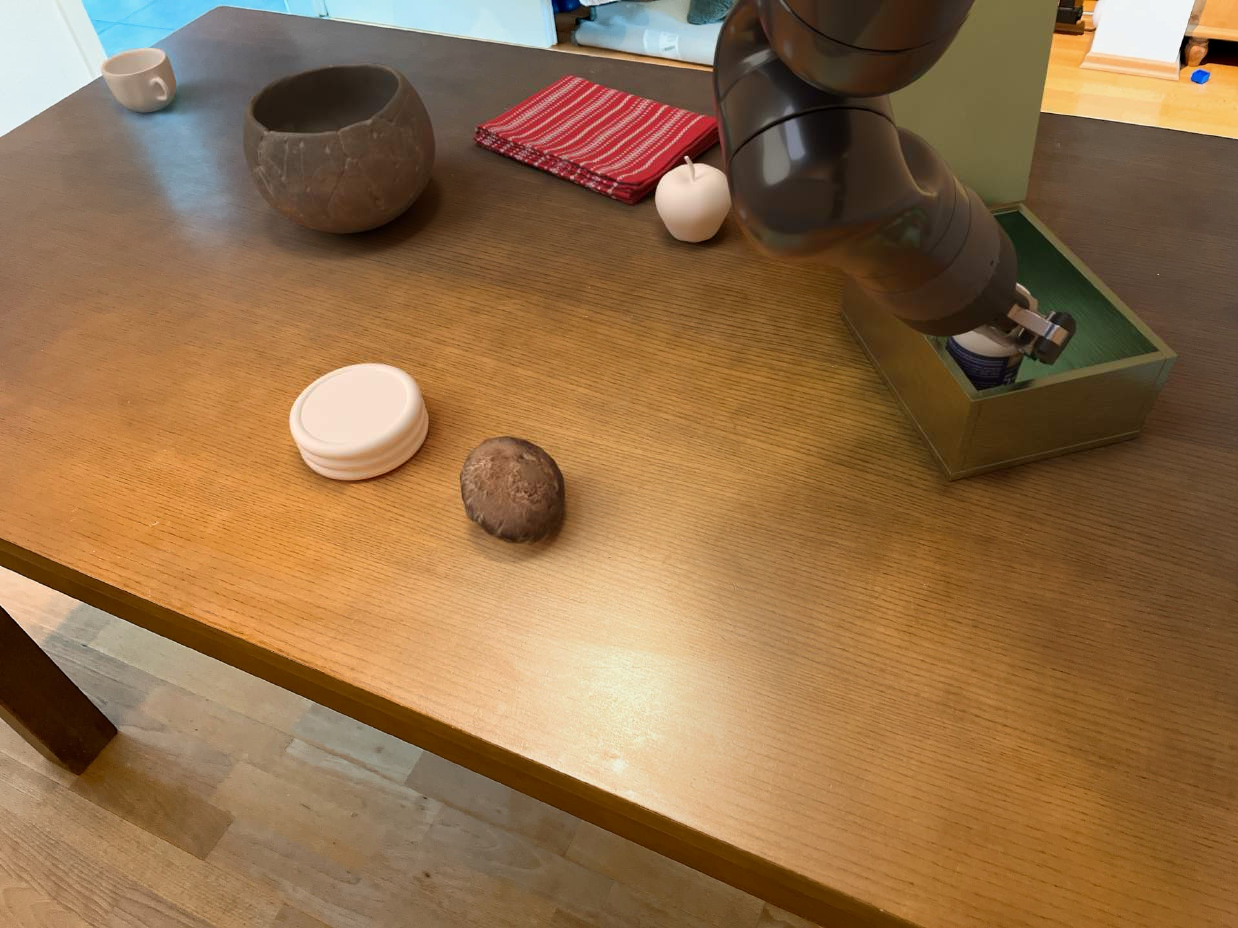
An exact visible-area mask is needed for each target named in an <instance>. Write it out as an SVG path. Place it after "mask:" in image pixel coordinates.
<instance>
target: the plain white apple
mask: <svg viewBox="0 0 1238 928" xmlns="http://www.w3.org/2000/svg"><path fill="white" fill-rule="evenodd" d="M684 158H685V160H686V162H687V164H685V165H681V166H679V167H677V168H675V169H673V170H672V171H670V172H668V173H667V174H665V175H664V176H663V177H662V179H661V180H660V182H659V184H658V185H657V186H656V190H655V197H654V201H655V207H656V211H657V213H658V215H659V217H660V218H661V221H662V222H663V223H664V225H665V227H666V228H667V230H668V232H669V233H670V234H671V236H672V237H673V238H674V239H676V240H678V241H682V242H688V243H700V242H703V241H707V240H710V239H711V238H713V237H714V236H715V235H716V234H717V232H718V231H719V230H720V228H721V226H722V224H723V223H724V221H725V219H726V217H727V215H728V214H729V212H730V209H731V208H732V206H731V202H730V196H729V190H728V184H727V176H726V173H724V172H723V171H722V170H721V169H718V168H716V167H713V166H711V165H709V164H706V163H700V162H699V163H693V161H692V160H690V159H689V157H688V156H685V157H684Z"/></svg>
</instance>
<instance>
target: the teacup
mask: <svg viewBox="0 0 1238 928" xmlns="http://www.w3.org/2000/svg"><path fill="white" fill-rule="evenodd" d="M100 71H101V74H102V78H103V79H104V81H105V82H106V84H107V86H108V88H109V89H110V91H111V93H112V94H113V97H114V98H116V100H117V101H118V102H119V103H120V104H121V105H123V106H124V107H125V108H127V109H129V110H130V111H134V112H137V113H153V112H157V111H160V110H163V109H164V108H166V107H168V106H169V105H170V104H171V102H172V101H173V100H174V98H175V97H176V94H177V79H176V76H175V73H174V70H173V67H172V63H171V61H170V59H169V57H168V55H167V53H166V52H165V51H164V50H163V49H161V48H156V47H139V48H132V49H128V50H124V51H121V52H118V53H115V54H114V55H112V56H110V57H108V58H107V59H105V60H104V61H103V62H102V64H101V66H100Z"/></svg>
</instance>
